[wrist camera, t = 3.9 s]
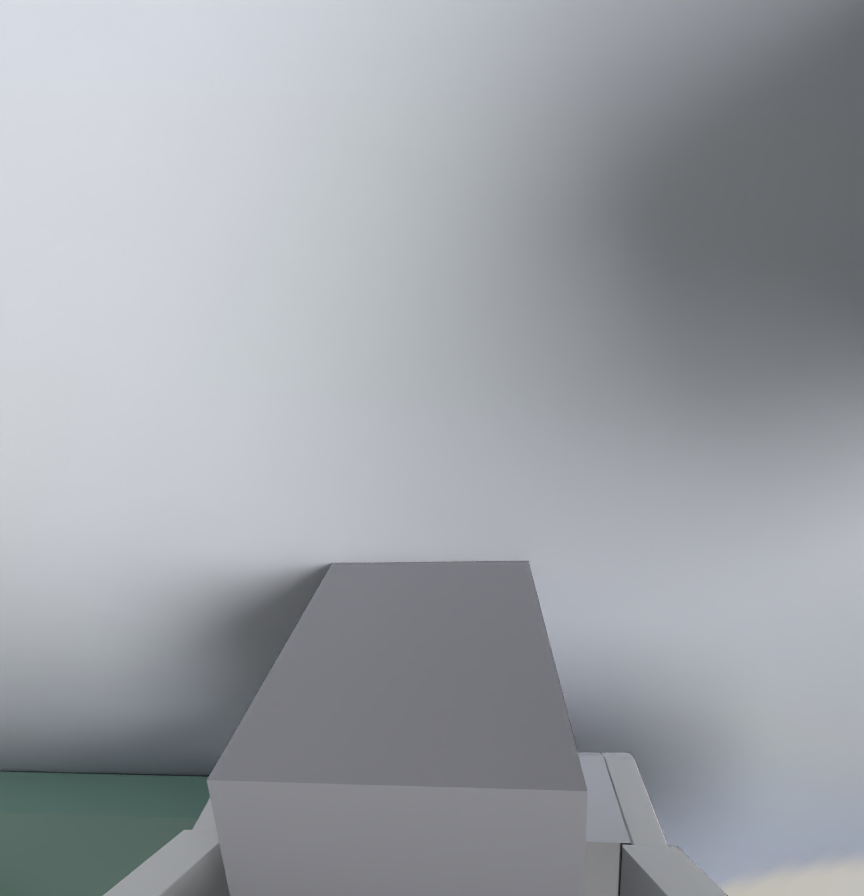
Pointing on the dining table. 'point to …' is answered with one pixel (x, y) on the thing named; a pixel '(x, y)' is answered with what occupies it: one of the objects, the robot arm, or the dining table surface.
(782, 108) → the dining table surface
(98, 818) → the header board
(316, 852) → the plug
